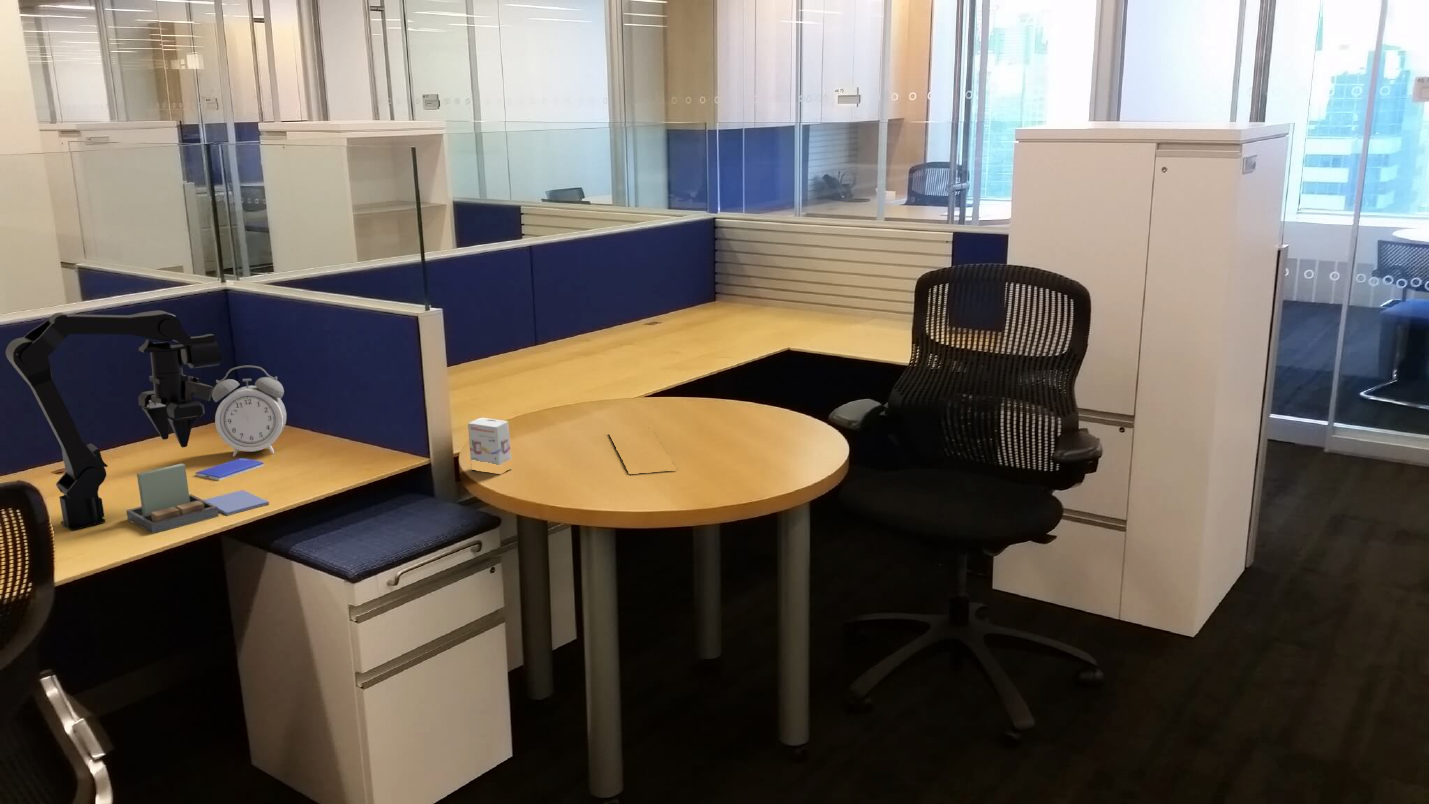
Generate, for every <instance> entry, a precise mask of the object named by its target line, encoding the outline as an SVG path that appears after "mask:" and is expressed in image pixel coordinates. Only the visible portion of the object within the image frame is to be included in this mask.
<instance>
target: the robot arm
mask: <svg viewBox="0 0 1429 804" xmlns="http://www.w3.org/2000/svg"><path fill="white" fill-rule="evenodd" d="M69 335H121V336H122V335H125V336H126V335H127V336H128V335H130V336H132V335H133V336H136V337H137V336H138V337H143V338H147V339H145V341H144V343H143V344H142V345H140V347H138V351H139V352H142V353H145V354H148V353H149V354H150V362H151V373H152V375H149V376H148V377H149V382H151V383H153V390H148V391H142V392H141V393H140V394H139V395H138V396H137V399H138V406H140V407H141V409H142V411H144V413H145V414H146V416H147V418H148V419H149V420H150V422H151V423H152V426H153V427H154V428H155V430H156V431H157V433H158V434H159V436H160V437H161V439H162V440H168V439H169V435H170V434H169V433H170V426H171V429H172V431H173V433H174V435H175V437H176V440H177V443H178V444H179V446H180V447H181V448H187V447H188V443H189V439H190V435H191V431H192V428H193V425H194V423H195V422H196V421H197V420H198V419H200V418H202V416H203V415H205V405H204V404H203V403H201V402H200V401H197V400H195V399H202V400H204V401H208V402H210V401H211V397H212V391H213V389H214V386H211V385H208V384H205V383H202V382H200V381H199V378H198V377H196V376H195V377H194V376H191V375H186V374H184V373H183V372H184V371H183V364H184V365H187V366H188V367H189V368H190V369H197V368H207V367H215V366H220V365H221V362H222V351H221V350H220V347H219V343H218V341H217V340H216V339H217V338H216V335H215V334H212V333H207V334H204V335H198V336H197V335H196V336H190V335H189V334H188V333H187V332H186V331H185V330H184V329H183V328H182V321H181V320H180V319H179V318H178V317H177V316H176V315H174V314H173V313H170V312H166V311H164V310H159V309H158V310H151V311H143V312H138V313H134V314H128V315H126V314H123V315H122V314H119V315H117V314H116V315H115V314H74V313H73V314H72V313H63V312H57V313H53V314H52V315H51V316H50V317H49V318H47V319H46V320H45V321H44V322H42V323H41V324H39V325H38V326H37V327H35V328H33V329H32V330H30V331H29V332H27V333H26V335H25V334H24V336H23V337H19V338H18V337H17V338H15V339H13V340H11V341H10V342H9V343H8V345H7V346H6V349H5V356H6V359H7V360H8V361H9V362H10V364H11V365H12V366H13V368H14V369H15V371H17V373H18V374H19V376H21V377H22V379H23V380H24V381H25V382H26V383H27V385H28V386H29V387H30V389H31V391H32V393H33V394H34V396H35V399H36V401H37V403H38V405H39V406H40V408H41V411H42V412H43V414H44V416H45V418H46V420H47V421H48V425H49V426H50V428H51V429H52V432H53V433H54V435H55V437H56V439H57V441H58V444H59V445H60V448H61V454H62V460H63V464H64V467H65V472H64V473H63V475H62V476H61V477H60V478H59V479H58V481H57V482H56V483H55V486H56V487H57V489H58V491H59V492H60V493H62V494H63V495H60V496H59V502H60V510H61V515H62V520H60V524H61V525H62V526H64V527H66V528H67V529H68V530H70V531H76V530H79V529H83V528H87V527H92V526H95V525H99V524H104V523H106V519H105V518H104V517H105V511H104V510H105V509H104V504H103V499H102V498H101V497H100V496H99V490H100V486H101V485H102V484H103V483H104V481H105V480H106V477H107V471H106V468H108V466H109V465H108V464H106V462H104V460H103V457H102V454H101V450H100V449H99V448H98V447H97V446H95V445H94V444H92V443H91V442H90V443H89V444H86V442H84V440H83V438H82V436H81V434H80V432H79V430H78V428H77V426H76V424H75V422H74V420H73V418H72V416H71V414H70V413H69V411H68V409H67V406H66V404H65V403H64V402H65V401H63V399H62V396H61V395H60V393H59V390H58V388H57V386H56V385H55V382H54V379H53V372H52V367H51V363H50V359H49V355H51V354H53V352H54V351H56V349H58V347H59V346H60V345H61V344H62V343H63V341H64V340H65V339H66V338H67V337H68V336H69ZM149 339H151V340H149ZM152 340H157V341H158V340H159V341H161V342H153V341H152ZM171 341H173V342H176V343H179V344H170V342H171ZM192 398H195V399H192Z"/></svg>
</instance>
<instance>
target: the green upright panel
mask: <svg viewBox="0 0 1429 804" xmlns="http://www.w3.org/2000/svg"><path fill="white" fill-rule="evenodd" d="M136 478H137V485H138V491H139V497H140V505H141V506H142V512H143V515H147V514H151V512H155V511H159V510H163V509H167V508H170V507H174V508H175V507H176V506H178V505H182V504H186V503H190V498H189V495H190V492H189V491H190V490H189V484H188V477H187V469H186V465H185V463H177V464H174V465H173V464H172V465H168V466H165V467H164V466H163V467H159V468H156V469H151V470H147V471H142V472H139V473H136ZM141 506H140V507H141Z"/></svg>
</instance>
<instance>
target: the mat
mask: <svg viewBox="0 0 1429 804" xmlns="http://www.w3.org/2000/svg"><path fill="white" fill-rule="evenodd" d="M203 500H204V501H206V502H208V503H210V504H212V505H214V506H216V507H218V512H220V513H222V514H223V515H225V516H230V515H234V514H237V513H242V512H245V511H249V510H253V509H256V508H260V507H265V506H268V505H269V503H270V502H269V501H268V500H266V499H264V498H262V497H259V496H257V495H255V494H254V493H250V492H248V491H246V490H243V489H241V490H236V491H234V492H229V493H228V492H227V493H225V494H221V495H217V496H214V497H213V496H212V497H210V498H205V499H203Z"/></svg>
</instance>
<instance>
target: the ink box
mask: <svg viewBox="0 0 1429 804" xmlns="http://www.w3.org/2000/svg"><path fill="white" fill-rule="evenodd" d="M509 426H510V425H509V421H507V420H502V419H501V420H500V419H496V418H495V419H494V418H489V417H488V418H487V417H479V418H477V419H474V420H471V421H469V422H468V423H467V429H468V442H469V453H470V454H469V456H470V461H471V460H476V461H480V462H488V463H492V464H496V465H500V464H502V463H503V462H506V461H507V460H510V459H511V460H512V457H511V456H512V455H511V440H510V427H509Z"/></svg>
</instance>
